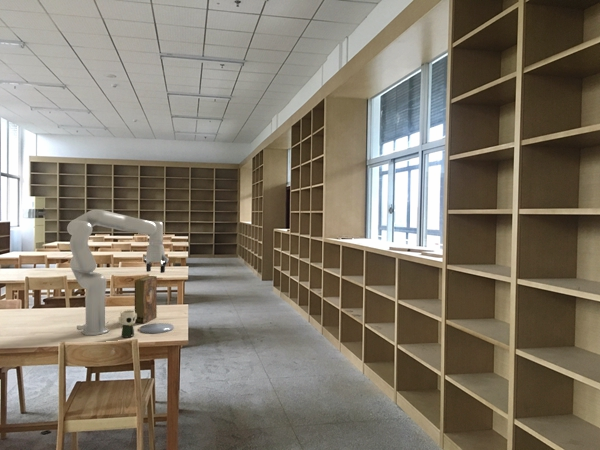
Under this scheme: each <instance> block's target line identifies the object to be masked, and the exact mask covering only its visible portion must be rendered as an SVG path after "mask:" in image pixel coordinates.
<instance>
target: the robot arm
mask: <svg viewBox="0 0 600 450" xmlns="http://www.w3.org/2000/svg"><path fill="white" fill-rule="evenodd" d="M95 226H98V227H103V228H108V229H114V230H116V231H117V230H118V231H124V232H133V233H134V232H135V233H138V234H139V235H146V236H147V235H149V236H148V237H149V238H148V239H149V240H148V241H147V242H148V244H147V247H146V254H145V255H143V257H142V259H143V262H144V263H145V266H146V270H145V271H146V272H147V273H149V272H151V271H152V270H151V269H152V265H151V263H156V264H157V263H159V264H160V265H161V266H160V269H159V270H160V271H159V272H160V273H161V274H163V273H165V271H166V265H167V264H168V262H169V260H170V258H169V257H168V256H166V254H165V247H164V241H163V240H164V223H163V221H150V220H146V219H142V218H137V217H133V216H130V215H126V214H120V213H116V212H112V211H108V210H104V209H90V210H89V211H87V212H85V213H83V214H81V215H80V216H77V217H76V218H75V219H72V220H71V221H70V222H69V223H68V225H67V227H66V230H67V232H68V234H69V235H71V237H70V239H69V249H70V252H71V254H72V257H71V259H70V261H69V266H70V269H71V271H72V274H73V275H74V277H75V279H76V281H77V283H78V285H79V286H80V287H81V288H83V289H85V290H86V294H85V300H84V301H85V302H84V303H85V323H84V324H83V325H80V324H79V325H76V330H79V331H82V332H81V333H82V334H83V335H84V336H99V335H103V334H107V333H108V332H109V328H107V327H106V290H107V285H108V284H107V283H108V282H107V278H106V277H105V276H104V275H103V274H102V273H98V272H95V271H96V268H97V262H96V259H95V257H94V255H93V253H92V251H91V249H90V246H89V238H90V236H91V235H92V233H93V227H95Z"/></svg>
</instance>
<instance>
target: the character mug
mask: <svg viewBox="0 0 600 450" xmlns="http://www.w3.org/2000/svg"><path fill="white" fill-rule="evenodd" d="M136 319H137V314H136V313H135V310H131V309H130V310H129V309H126V310H122V311H120V316H119V317H118V324H120V325H122V328H121V329H122V330H121V337H124V338H131V337H134V336H135V329H134V324H136V323H135V320H136Z"/></svg>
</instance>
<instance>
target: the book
mask: <svg viewBox="0 0 600 450" xmlns="http://www.w3.org/2000/svg"><path fill="white" fill-rule="evenodd" d="M157 279H158V278H157V276H156V275H148V276H145V277H141V278H137V279H135V280H134V311H135V313H136V314H137V319H136V320H135V323H134V324H137V323H138V324H139V323H140V324H148V322H151V321H153V320H155V319H157V317H158V316H157V315H158V312H157V308H158V307H157V300H158V299H157V298H158V297H157V295H158V294H157V293H158V291H157V285H158V284H157V283H158V282H157V281H158V280H157Z"/></svg>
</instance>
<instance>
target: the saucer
mask: <svg viewBox="0 0 600 450" xmlns="http://www.w3.org/2000/svg"><path fill="white" fill-rule="evenodd" d="M138 329H139V332H140V333H142V334H163V333H168V332H171V331H172V330H174V329H175V328H174V325H173V323H172V324H171V323H167V322H166V323H165V322H157V323H156V322H154V323H146V324H143V325H141V326H140V327H139V328H138Z"/></svg>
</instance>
